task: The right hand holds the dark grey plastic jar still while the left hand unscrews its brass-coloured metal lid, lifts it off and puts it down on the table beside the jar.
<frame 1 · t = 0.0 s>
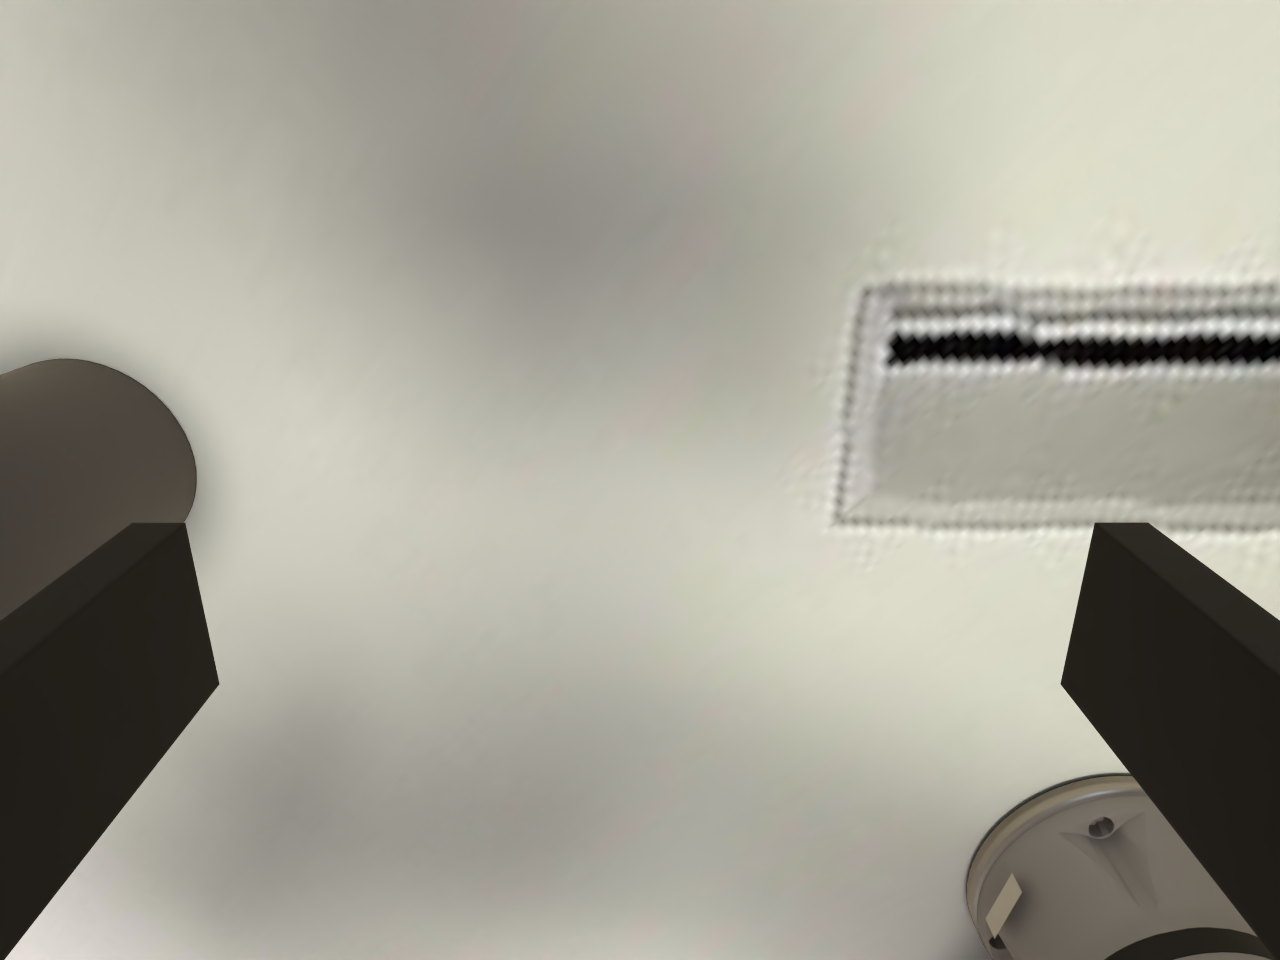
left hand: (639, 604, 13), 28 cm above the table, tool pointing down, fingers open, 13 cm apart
jar: (90, 461, 42), on the table
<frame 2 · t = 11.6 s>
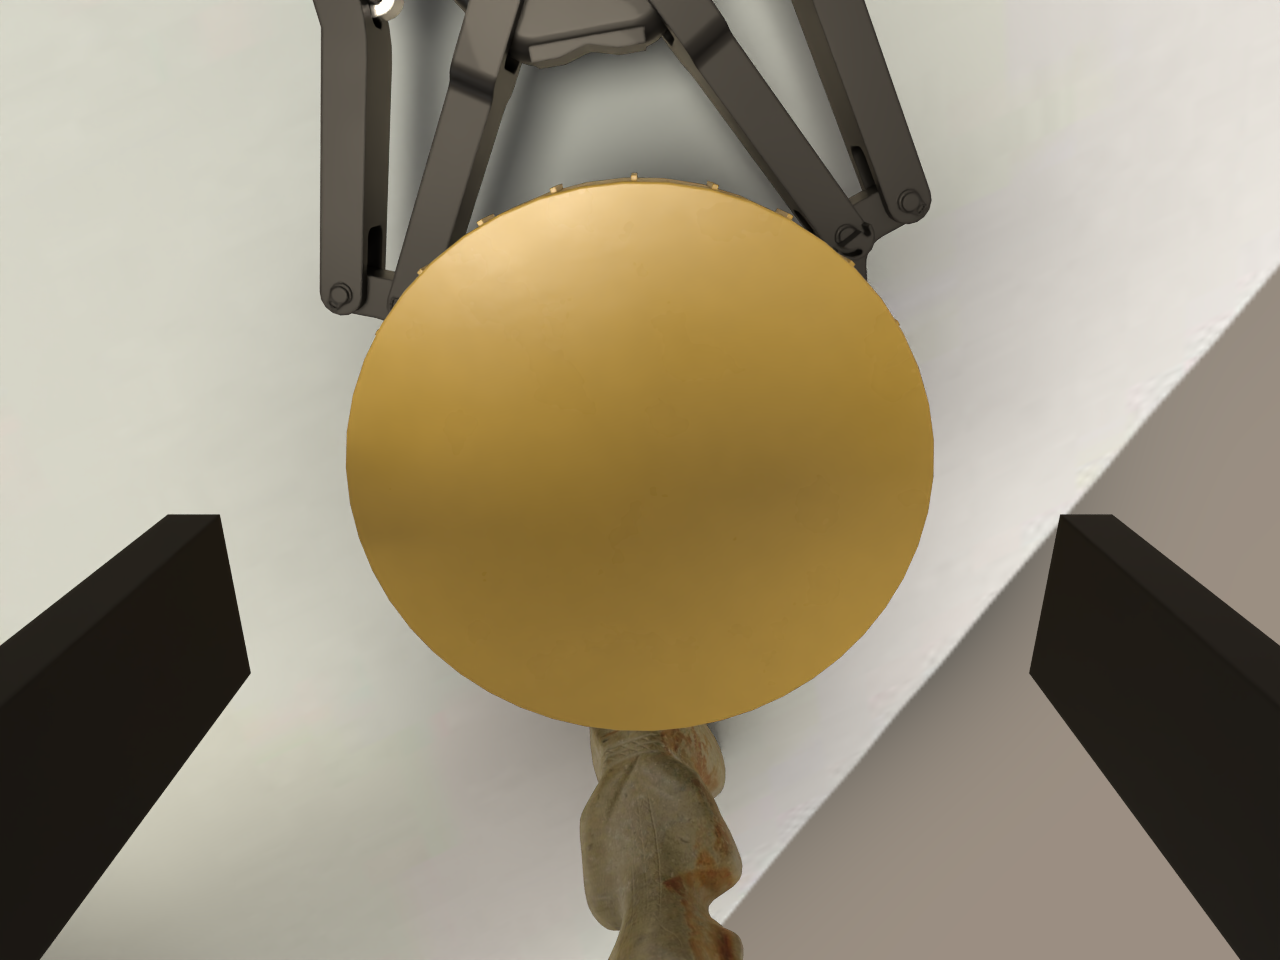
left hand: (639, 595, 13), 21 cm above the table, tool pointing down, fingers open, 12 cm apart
right hand: (660, 486, 28), fingers closed on jar, 10 cm apart
sculpture: (656, 714, 39), on the table
lid: (639, 484, 17), point 17 cm above the table, screwed on, not yet turned
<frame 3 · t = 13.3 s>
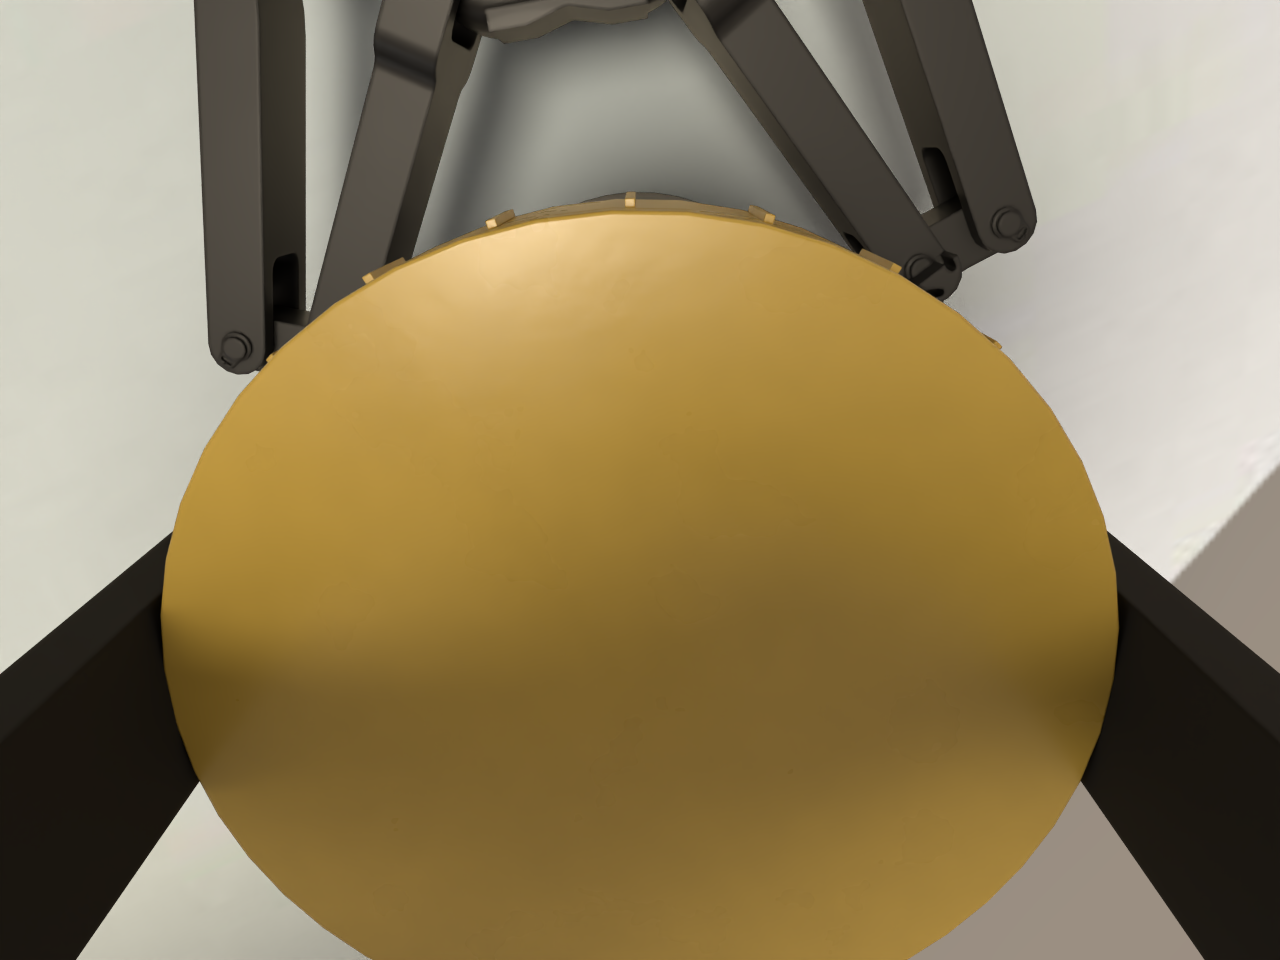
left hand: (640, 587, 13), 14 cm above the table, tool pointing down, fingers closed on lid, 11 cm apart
right hand: (665, 586, 22), fingers closed on jar, 10 cm apart
jar: (639, 366, 26), on the table, touching right hand
lid: (639, 685, 11), point 17 cm above the table, screwed on, not yet turned, touching left hand
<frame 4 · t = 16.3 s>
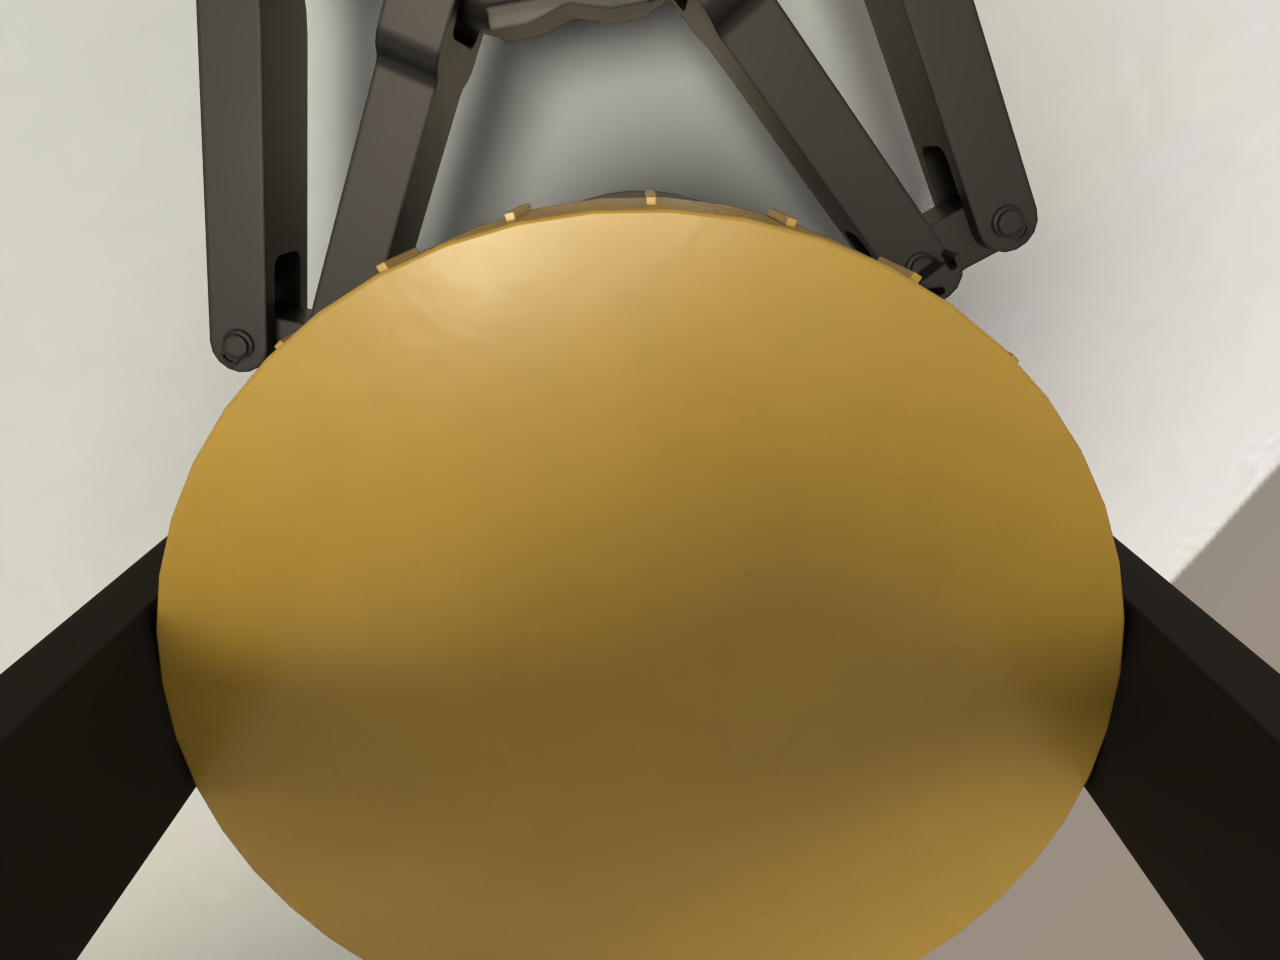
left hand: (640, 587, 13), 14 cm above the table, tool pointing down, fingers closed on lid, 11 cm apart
right hand: (666, 584, 22), fingers closed on jar, 10 cm apart
jar: (640, 364, 26), on the table, touching right hand
lid: (640, 688, 11), point 17 cm above the table, turned 84° so far, risen 0.1 cm, still on its thread, touching left hand
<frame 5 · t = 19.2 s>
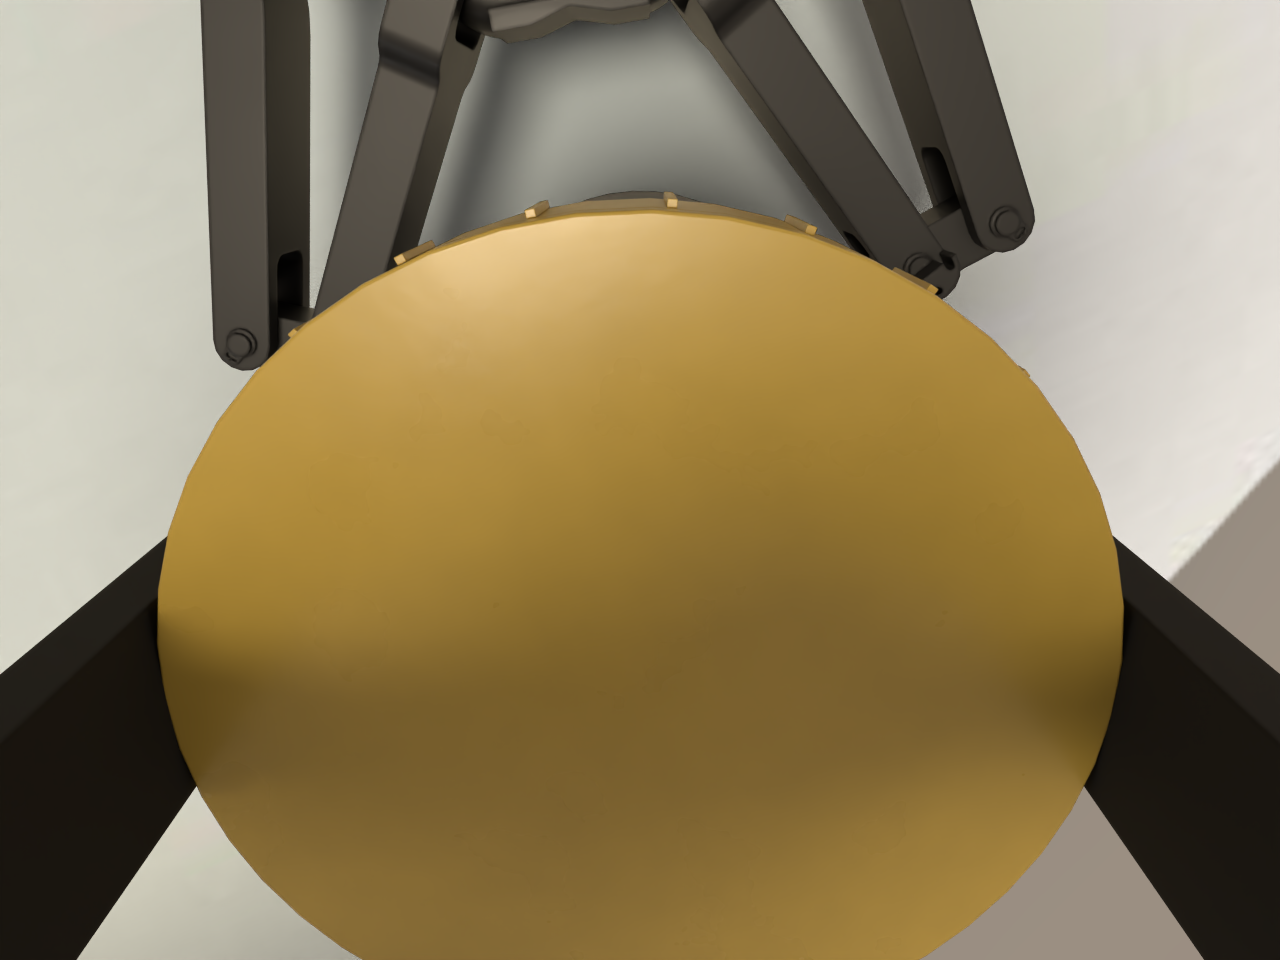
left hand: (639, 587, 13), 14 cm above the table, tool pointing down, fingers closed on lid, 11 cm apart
right hand: (665, 582, 22), fingers closed on jar, 10 cm apart
jar: (640, 364, 26), on the table, touching right hand
lid: (640, 689, 11), point 17 cm above the table, turned 169° so far, risen 0.3 cm, still on its thread, touching left hand
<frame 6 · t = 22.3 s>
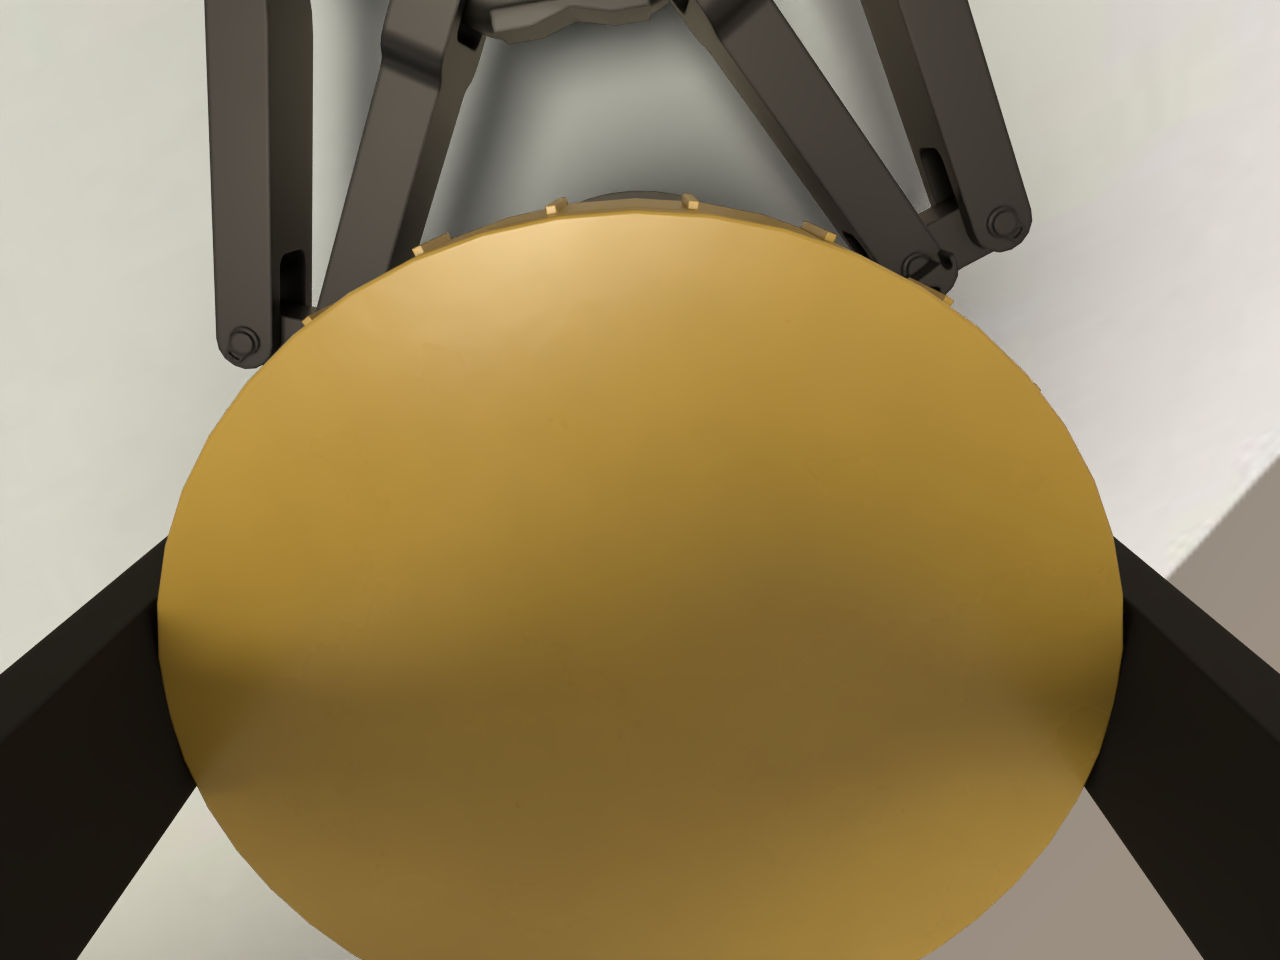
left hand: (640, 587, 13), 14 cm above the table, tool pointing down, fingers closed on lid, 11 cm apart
right hand: (665, 580, 22), fingers closed on jar, 10 cm apart
jar: (640, 363, 27), on the table, touching right hand
lid: (640, 689, 11), point 17 cm above the table, turned 253° so far, risen 0.4 cm, still on its thread, touching left hand
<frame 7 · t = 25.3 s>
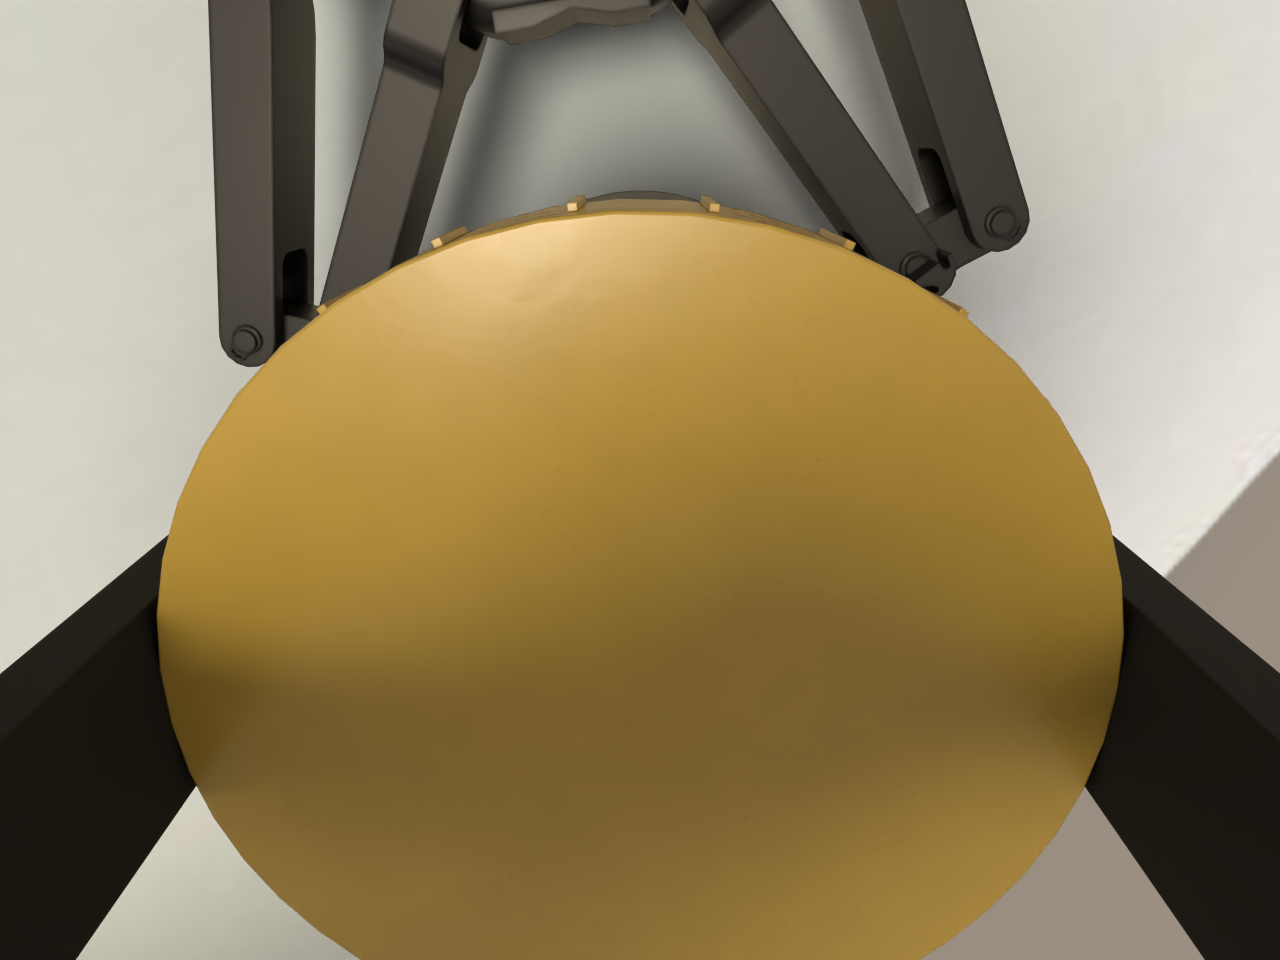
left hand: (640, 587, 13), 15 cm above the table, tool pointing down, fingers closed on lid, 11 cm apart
right hand: (665, 578, 22), fingers closed on jar, 10 cm apart
jar: (640, 362, 27), on the table, touching right hand
lid: (640, 689, 11), point 17 cm above the table, turned 337° so far, risen 0.5 cm, still on its thread, touching left hand
when the left hand's fingers open (0 cm above the table, at t = 31.7 s): lid drops 1 cm, point 2 cm above the table.
when the right hand's fingers open (6 cm above the table, at t = 32.7 s): jar stays where it is, on the table.
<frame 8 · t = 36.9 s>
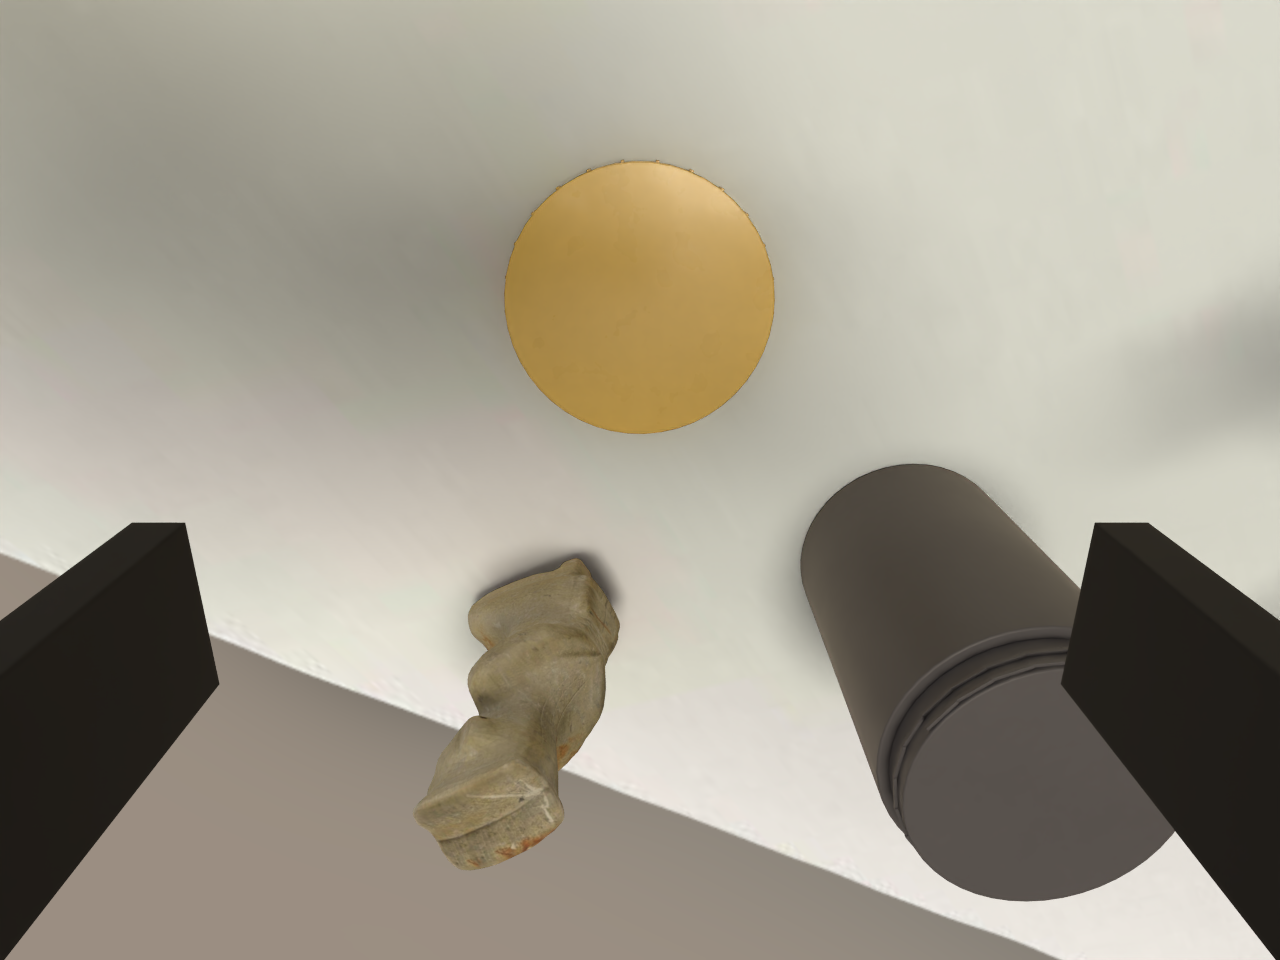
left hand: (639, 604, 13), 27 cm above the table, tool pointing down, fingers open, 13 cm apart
sculpture: (548, 600, 44), on the table
jar: (902, 558, 43), on the table
lid: (639, 304, 37), point 2 cm above the table, off its thread
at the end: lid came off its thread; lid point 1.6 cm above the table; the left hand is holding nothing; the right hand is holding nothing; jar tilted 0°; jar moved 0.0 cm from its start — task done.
